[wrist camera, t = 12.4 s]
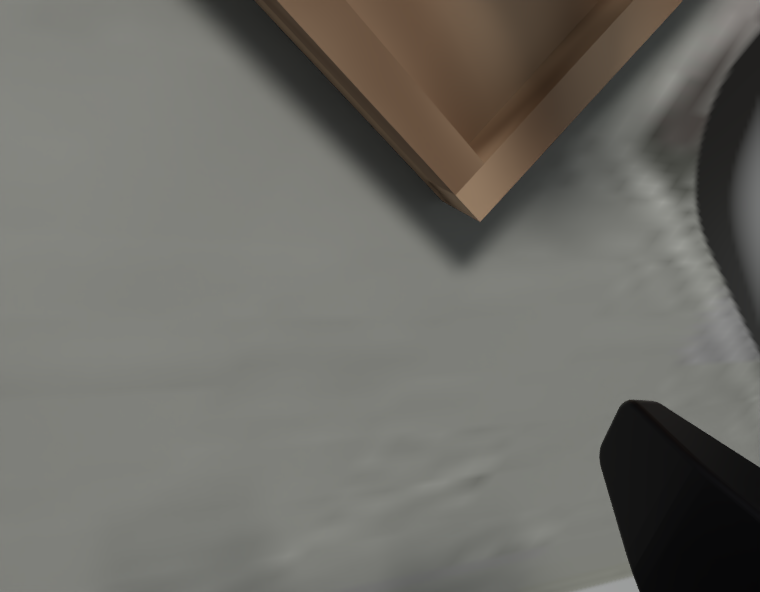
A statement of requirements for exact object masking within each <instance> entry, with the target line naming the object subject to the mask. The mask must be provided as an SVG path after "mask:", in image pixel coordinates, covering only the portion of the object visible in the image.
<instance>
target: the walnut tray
mask: <svg viewBox="0 0 760 592" xmlns="http://www.w3.org/2000/svg"><path fill="white" fill-rule="evenodd" d="M254 1H255V2H256V3H257V4H258V5H259V6H260V7H261V8H262V9H263V10H264V11H265V12H266V13H267V15H268V16H269V17H270V18H271V19H272V20H273V21H274V22H275V23H276V24H277V25H278V26H279V27H280V28H281V29H282V31H283V32H284V33H285V34H286V35H287V36H288V37H289V38H290V39H291V40H292V41H293V42H294V43H295V44H296V45H297V47H298V48H299V49H300V50H301V51H302V52H303V53H304V54H305V55H306V56H307V57H308V58H309V59H310V60H311V61H312V63H313V64H314V65H315V66H316V67H317V68H318V69H319V70H320V71H321V72H322V73H323V74H324V75H325V76H326V77H327V79H328V80H329V81H330V82H331V83H332V84H333V85H334V86H335V87H336V88H337V89H338V90H339V91H340V92H341V93H342V95H343V96H344V97H345V98H346V99H347V100H348V101H349V102H350V103H351V104H352V105H353V106H354V107H355V108H356V109H357V111H358V112H359V113H360V114H361V115H362V116H363V117H364V118H365V119H366V120H367V121H368V122H369V123H370V124H371V125H372V127H373V128H374V129H375V130H376V131H377V132H378V133H379V134H380V135H381V136H382V137H383V138H384V139H385V140H386V141H387V143H388V144H389V145H390V146H391V147H392V148H393V149H394V150H395V151H396V152H397V153H398V154H399V155H400V156H401V157H402V158H403V160H404V161H405V162H406V163H407V164H408V165H409V166H410V167H411V168H412V169H413V170H414V171H415V172H416V173H417V174H418V176H419V177H420V178H421V179H422V180H423V181H424V182H425V183H426V184H427V185H428V186H429V187H430V188H431V189H432V190H433V192H434V193H435V194H436V195H437V196H438V197H439V198H440V199H441V200H442V201H443V202H445V203H447V204H449V205H450V206H452V207H454V208H456V209H458V210H459V211H461V212H463V213H465V214H467V215H468V216H470V217H472V218H474V219H476V220H477V221H479V222H481V220H482V219H483V218H484V217H485V216H486V215H487V214H488V213H489V212H490V211H491V210H492V208H493V207H494V206H495V205H496V204H497V203H498V202H499V201H500V200H501V199H502V198H503V196H504V195H505V194H506V193H507V192H508V191H509V190H510V189H511V188H512V187H513V186H514V184H515V183H516V182H517V181H518V180H519V179H520V178H521V177H522V176H523V175H524V174H525V172H526V171H527V170H528V169H529V168H530V167H531V166H532V165H533V164H534V163H535V162H536V160H537V159H538V158H539V157H540V156H541V155H542V154H543V153H544V152H545V151H546V149H547V148H548V147H549V146H550V145H551V144H552V143H553V142H554V141H555V140H556V139H557V137H558V136H559V135H560V134H561V133H562V132H563V131H564V130H565V129H566V128H567V127H568V125H569V124H570V123H571V122H572V121H573V120H574V119H575V118H576V117H577V116H578V115H579V113H580V112H581V111H582V110H583V109H584V108H585V107H586V106H587V105H588V104H589V103H590V101H591V100H592V99H593V98H594V97H595V96H596V95H597V94H598V93H599V92H600V91H601V89H602V88H603V87H604V86H605V85H606V84H607V83H608V82H609V81H610V80H611V79H612V77H613V76H614V75H615V74H616V73H617V72H618V71H619V70H620V69H621V68H622V66H623V65H624V64H625V63H626V62H627V61H628V60H629V59H630V58H631V57H632V56H633V54H634V53H635V52H636V51H637V50H638V49H639V48H640V47H641V46H642V45H643V44H644V42H645V41H646V40H647V39H648V38H649V37H650V36H651V35H652V34H653V33H654V32H655V30H656V29H657V28H658V27H659V26H660V25H661V24H662V23H663V22H664V21H665V20H666V18H667V17H668V16H669V15H670V14H671V13H672V12H673V11H674V10H675V9H676V8H677V6H678V5H679V4H680V3H681V2H682V1H683V0H254Z"/></svg>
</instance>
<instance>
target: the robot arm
mask: <svg viewBox="0 0 760 592" xmlns="http://www.w3.org/2000/svg"><path fill="white" fill-rule="evenodd" d="M599 458H600V465H601V469H602V472H603V476H604V479H605V483H606V486H607V490H608V493H609V496H610V500H611V503H612V507H613V510H614V514H615V517H616V520H617V524H618V527H619V531H620V534H621V538H622V541H623V544H624V548H625V551H626V555H627V558H628V561H629V564H630V567H631V570H632V573H633V576H634V578H635V581H636V583H637V586H638V589H639V591H640V592H760V467H758V466H757V465H755V464H754V463H752V462H751V461H749V460H747V459H746V458H744V457H743V456H741V455H740V454H738V453H736V452H735V451H733V450H732V449H730V448H729V447H727V446H726V445H724V444H722V443H721V442H719V441H718V440H716V439H715V438H713V437H712V436H710V435H708V434H707V433H705V432H704V431H702V430H701V429H699V428H698V427H696V426H694V425H693V424H691V423H690V422H688V421H687V420H685V419H683V418H682V417H680V416H679V415H677V414H676V413H674V412H673V411H671V410H669V409H668V408H666V407H665V406H663V405H662V404H660V403H658V402H655V401H645V400H628V401H625V402H624V403H623V404H622V405H621V406H620V407H619V409H618V411H617V413H616V415H615V417H614V419H613V421H612V424H611V426H610V428H609V430H608V432H607V434H606V436H605V438H604V440H603V442H602V445H601V448H600V456H599Z"/></svg>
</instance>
